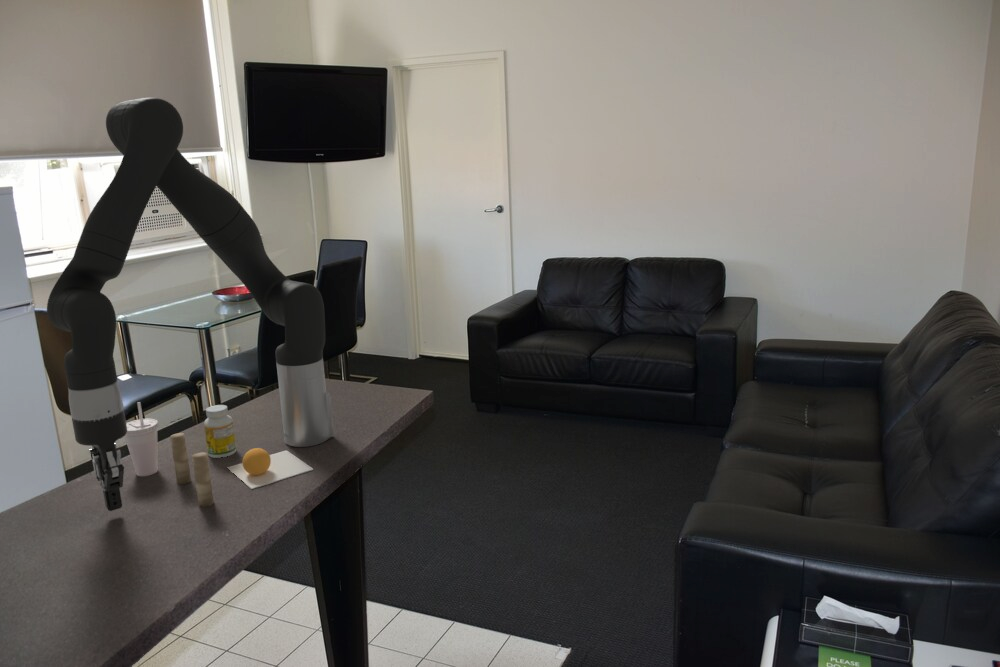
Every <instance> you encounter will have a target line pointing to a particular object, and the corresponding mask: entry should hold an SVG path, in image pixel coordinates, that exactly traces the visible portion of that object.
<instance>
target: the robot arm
mask: <svg viewBox="0 0 1000 667" xmlns="http://www.w3.org/2000/svg"><path fill="white" fill-rule="evenodd" d="M105 127H106V132H107V134H108V137H109V140H110V141H111V142H112V144H113V145H114V147H115V148H116V149H117V150H118V151H119V152H120V153H121V154H122V155H123V157H122V160H121V163H120V165H119V166H118V169H117V172H116V173H115V175H114V177H113V179H112V180H111V182H110V184H109V185H108V187H107V188H106V189H105V191H104V192H103V194H102V195H101V197H100V198H99V199H98V201H97V202H96V204H95V205H94V206H93V208H92V210H91V212H90V213H89V214H88V217H87V219H86V222H85V223H84V226H83V229H82V232H81V234H80V237H79V240H78V242H77V246H76V248H75V250H74V254H73V256H72V259H71V260H70V262H69V263H68V264H67V266H66V267H65V268H64V270H63V271H62V273H61V274H60V277H59V278H58V279H57V280H56V283H55V284H54V285H53V287H52V289H51V292H50V293H49V295H48V296H49V297H48V300H47V304H46V313H47V318H48V319H49V321H50V323H51V324H52V325H53V326H54V327H55V328H57V329H58V330H61V331H65V332H68V333H71V349H70V350H69V351H67V352H66V353H65V355H64V357H63V365H64V373H65V377H66V384H67V389H68V406H69V412H70V416H71V422H72V427H73V431H74V432H73V433H74V438H75V441H76V443H77V444H79V445H81V446H91V447H89V449H88V452H89V453H88V454H89V458H90V459H91V460H92V465H93V472H94V473H95V475H96V479H97V481H98V482H99V487H101V489H102V493H103V494H102V495H103V498H104V503H105V504H104V505H105V508H106V509H107V511H108V512H112V511H115V510H119V509H122V507H123V502H122V501H123V500H122V497H121V490H120V488H122V487H123V486H124V476H125V475H124V472H125V467H124V466H123V464H122V463H121V458H122V452H121V449H120V448H119V447H118V446H117V444H116V442H117V441H119V439H122V438H125V435H126V433H127V426H126V423H127V420H126V415H125V409H124V408H125V406H124V402H123V397H122V396H123V395H122V392H121V388H120V385H119V380H118V376H117V370H116V365H115V364H116V362H115V359H114V351H115V350H114V349H115V344H116V335H117V334H116V333H117V331H116V330H117V315H116V312H115V309H114V306H113V303H112V302H111V300H110V299H109V297H108V296H106V294H104V293H102V292H101V291H102V290H103V288H104V286H105V284H106V283H108V281H110V280H113V279H116V278H117V277H119V275H120V274H121V272H122V271H123V268H124V266H125V265H124V264H125V262H126V259H127V256H128V254H129V252H130V248H131V245H132V243H133V239H134V236H135V235H136V231H137V230H138V229H137V228H138V226H139V223H140V221H141V218H142V216H143V214H144V211H145V210H146V207H147V205H148V203H149V201H150V199H151V196H153V195H152V194H153V193H154V191H155V189H156V187H157V188H158V189H159V190H160V191H161V192H162V194H163V195H164V196H165V197H166V199H167V200H168V201H169V202H170V203H171V205H172V206H173V207H174V208H175V209H176V210H177V212H178V213H179V214H180V215H181V216H182V217H183V218H184V220H186V222H188V224H189V225H190V226H191V228H192V229H193V230H194V231H195V233H196V234H197V235H198V236H199V237H200V238H201V239H202V240H203V242H204V243H205V244H206V245H207V246H208V247H209V249H210V250H211V251H212V252H214V253H215V255H216V256H218V258H219V259H220V260H221V261H222V262H223V263H224V264H225V266H226V267H227V268H228V269H229V270H230V271H231V272H232V274H234V275H235V276H236V277H237V279H239V280H240V282H241V283H242V284H243V285H244V286H245V289H246V290H248V292H249V293H250V295H251V296H252V297H253V300H254V301H255V302H256V304H257V305H258V306H259V308H260V310H261V311H262V312H263V314H265V315H264V316H266V317H267V318H268V319H269V320H270V321H272V322H273V323H275V324H276V325H279V326H283V327H284V337H285V338H284V339H285V340H284V343H282V344H280V345H278V346H277V347H275V348H276V349H275V353H274V354H275V363H276V364H275V365H276V370H277V371H276V372H277V381H278V392H279V401H280V410H281V411H280V412H281V420H282V428H283V439H284V444H286V445H288V446H292V447H297V448H298V447H299V448H303V447H304V448H305V447H306V448H307V447H312V446H313V447H314V446H317V445H319V444H323V443H325V442H326V441H327V440H329V439H331V438H333V437H335V435H334V433H335V432H334V423H333V422H334V421H333V412H332V411H333V410H332V399H331V394H330V393H329V392H328V391H327V387H326V377H325V375H326V374H325V366H324V353H323V352H324V347H325V344H326V318H325V316H326V315H325V304H324V300H323V295H322V293H321V291H320V290H319V289H318V288H317V287H316V286H314V285H313V284H311V283H306V282H301V281H296V280H291V279H290V278H288V277H287V276H286V275H285V274H284V273H283V272H282V271H281V270H280V269H279V268H278V267H277V266H276V265H275V264H274V262H273V261H272V260H271V259H270V257H269V256H268V254H267V251H266V249H265V245H264V243H263V240H262V236H261V232H260V230H259V228H258V226H257V224H256V223H255V221H254V219H253V218H252V217H251V215H250V214H249V213H248V212H247V210H245V208H244V206H242V204H241V203H240V202H239V201H238V200H237V198H236V197H235V196H234V195H232V193H231V192H229V191H228V190H227V189H225V188H224V187H223V186H222V185H221V184H219V183H218V182H216V181H215V180H213V179H212V178H210V176H207V175H206V174H204V173H203V172H202V171H200V170H199V169H198V168H196V167H195V166H194V165H193V164H191V163H190V162H189V160H187V159H186V158H185V156H184V155H183V154H182V153H181V152H180V151H179V149H178V148H179V145H180V143H181V141H182V139H183V135H184V122H183V118H182V116H181V114H180V113H179V111H178V110H177V108H176V107H175V106H174V105H173V104H172V103H170V102H169V101H168V100H165V99H162V98H160V97H141V98H136V99H130V100H125V101H122V102H119V103H117V104H115V105H113V106H112V107H110V109H109V110H108V112H107V114H106V118H105Z"/></svg>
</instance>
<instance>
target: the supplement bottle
mask: <svg viewBox="0 0 1000 667" xmlns="http://www.w3.org/2000/svg"><path fill="white" fill-rule="evenodd" d="M228 409H229V408H228V406H227V405H224V404H216V405H212V406H208V407H206V409H205V414H206V417H207V418H206V419H205V420H204V423H203V427H204V432H205V434H204V435H205V441H206V448H207V450H206V451H207V456H209V457H210V458H212V459H213V458H214V459H222V458H221V457H223V458H227V456H228V457H230V456H232V455H234V454H235V453H236V451H237V445H236V436H235V428H234V422H233V417H232V416H230V415H229V410H228Z"/></svg>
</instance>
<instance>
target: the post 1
mask: <svg viewBox="0 0 1000 667" xmlns="http://www.w3.org/2000/svg"><path fill="white" fill-rule="evenodd" d="M169 437H170V442H171V443H170V445H171V449H172V457H173V463H174V471H175V477H176V484H178V485H184V484H188V483H190V482H192V478H191V471H190V470H191V469H190V464H189V456H188V451H187V449H188V448H187V442H186V434H185V433H183V432H179V433H178V432H177V433H174V434H172V435H171V434H170V436H169Z"/></svg>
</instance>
